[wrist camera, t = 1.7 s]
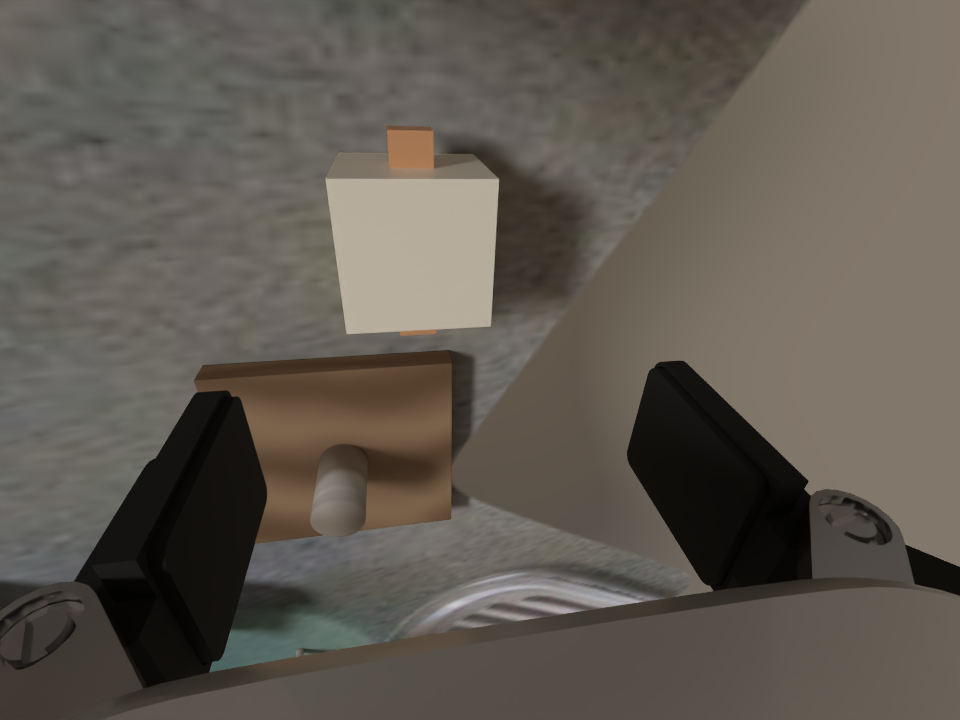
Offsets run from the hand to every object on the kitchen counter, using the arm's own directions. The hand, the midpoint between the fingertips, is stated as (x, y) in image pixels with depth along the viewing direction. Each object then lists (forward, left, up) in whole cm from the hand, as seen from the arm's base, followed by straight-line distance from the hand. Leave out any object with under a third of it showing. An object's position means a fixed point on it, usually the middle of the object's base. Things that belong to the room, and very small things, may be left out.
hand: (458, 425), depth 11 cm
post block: (+15, -5, -16) cm, 22 cm away
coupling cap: (0, 0, -16) cm, 16 cm away
